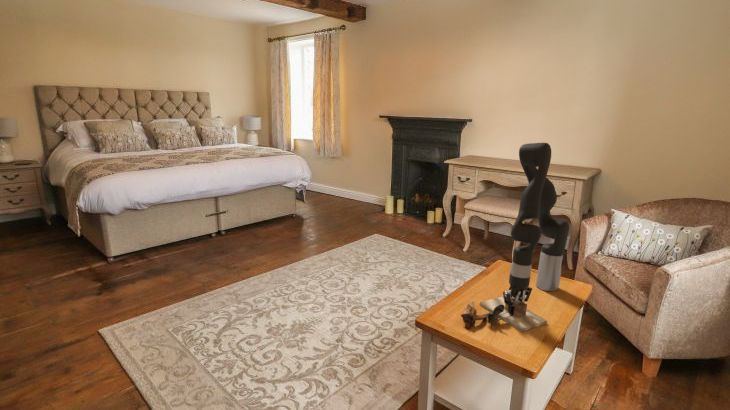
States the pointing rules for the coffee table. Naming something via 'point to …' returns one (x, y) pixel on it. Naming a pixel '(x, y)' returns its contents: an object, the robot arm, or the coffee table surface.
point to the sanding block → (518, 308)
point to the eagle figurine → (495, 314)
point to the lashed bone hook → (470, 315)
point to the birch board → (519, 323)
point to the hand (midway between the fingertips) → (514, 312)
